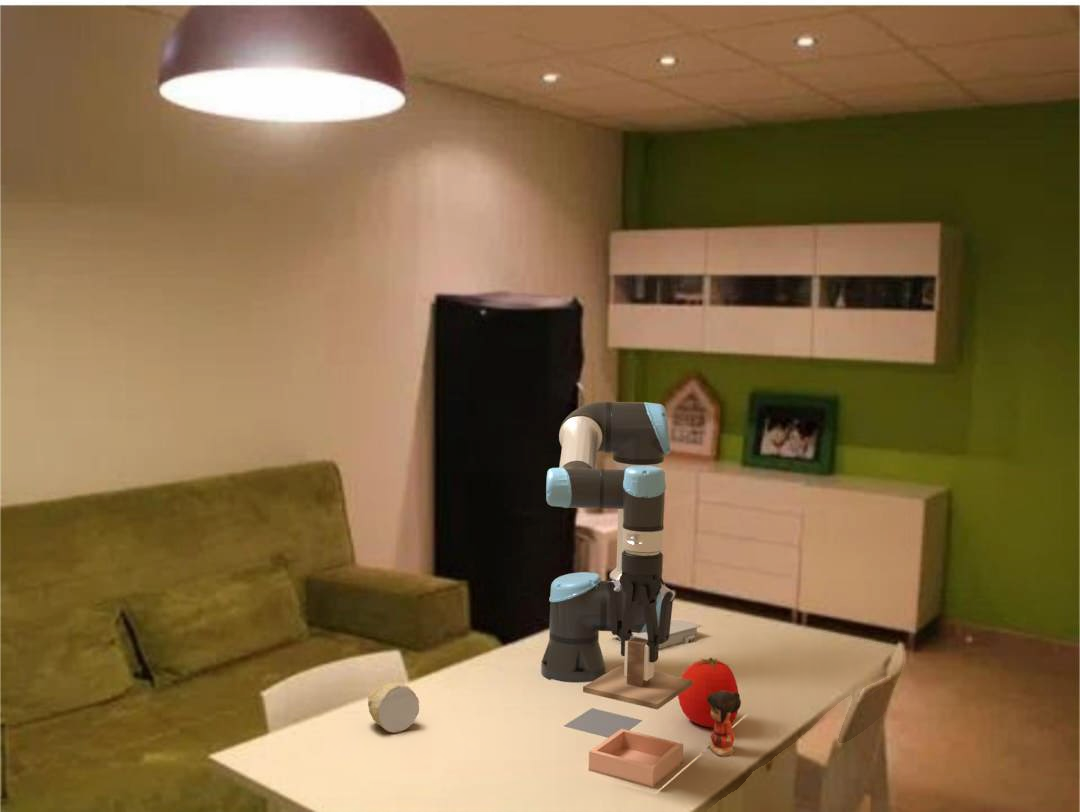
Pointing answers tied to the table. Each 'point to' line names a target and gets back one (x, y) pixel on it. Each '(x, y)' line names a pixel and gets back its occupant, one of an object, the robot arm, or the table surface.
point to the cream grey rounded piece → (393, 706)
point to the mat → (602, 722)
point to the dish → (636, 758)
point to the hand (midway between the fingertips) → (638, 675)
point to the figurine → (723, 721)
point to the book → (674, 633)
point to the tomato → (706, 689)
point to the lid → (637, 682)
